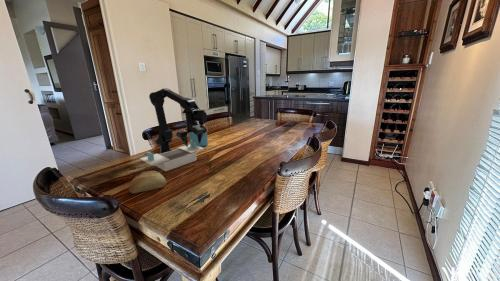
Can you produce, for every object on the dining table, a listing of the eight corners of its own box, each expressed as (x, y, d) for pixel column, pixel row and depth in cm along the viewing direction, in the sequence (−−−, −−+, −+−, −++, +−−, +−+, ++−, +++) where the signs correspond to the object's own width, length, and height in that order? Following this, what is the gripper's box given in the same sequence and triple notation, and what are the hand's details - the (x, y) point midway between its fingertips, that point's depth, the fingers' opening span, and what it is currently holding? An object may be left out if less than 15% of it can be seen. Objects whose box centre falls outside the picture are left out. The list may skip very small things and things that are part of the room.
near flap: (140, 159, 114) (138, 151, 113) (157, 154, 121) (155, 147, 120) (151, 165, 105) (150, 157, 104) (169, 160, 112) (168, 152, 111)
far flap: (177, 148, 131) (177, 141, 129) (190, 144, 138) (190, 138, 136) (191, 153, 122) (190, 145, 120) (204, 148, 129) (203, 142, 127)
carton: (152, 164, 120) (151, 156, 119) (183, 154, 135) (182, 147, 133) (165, 171, 111) (164, 162, 109) (196, 160, 125) (196, 152, 124)
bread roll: (129, 189, 93) (125, 173, 91) (164, 180, 101) (161, 165, 99) (130, 199, 86) (127, 181, 83) (168, 188, 93) (166, 172, 91)
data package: (207, 144, 156) (205, 128, 153) (207, 145, 152) (206, 129, 149) (190, 145, 153) (188, 130, 149) (191, 147, 149) (189, 131, 145)
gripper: (184, 124, 114) (187, 151, 119) (211, 119, 128) (213, 143, 132) (174, 122, 121) (177, 147, 126) (200, 117, 135) (202, 140, 139)
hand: (193, 145), depth 130 cm, fingers open, 9 cm apart
